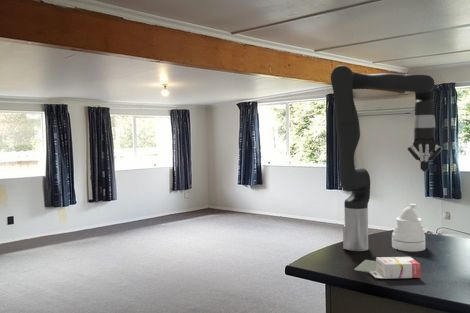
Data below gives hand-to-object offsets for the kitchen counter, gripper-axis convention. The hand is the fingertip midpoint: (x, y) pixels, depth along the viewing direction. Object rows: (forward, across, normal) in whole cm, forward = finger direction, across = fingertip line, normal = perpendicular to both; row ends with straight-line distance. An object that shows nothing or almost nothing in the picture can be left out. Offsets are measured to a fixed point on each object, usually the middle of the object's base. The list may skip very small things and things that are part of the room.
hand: (424, 171), depth 174 cm
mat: (+32, -9, -30) cm, 45 cm away
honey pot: (+32, -7, +4) cm, 33 cm away
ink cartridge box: (+29, +2, -32) cm, 44 cm away
